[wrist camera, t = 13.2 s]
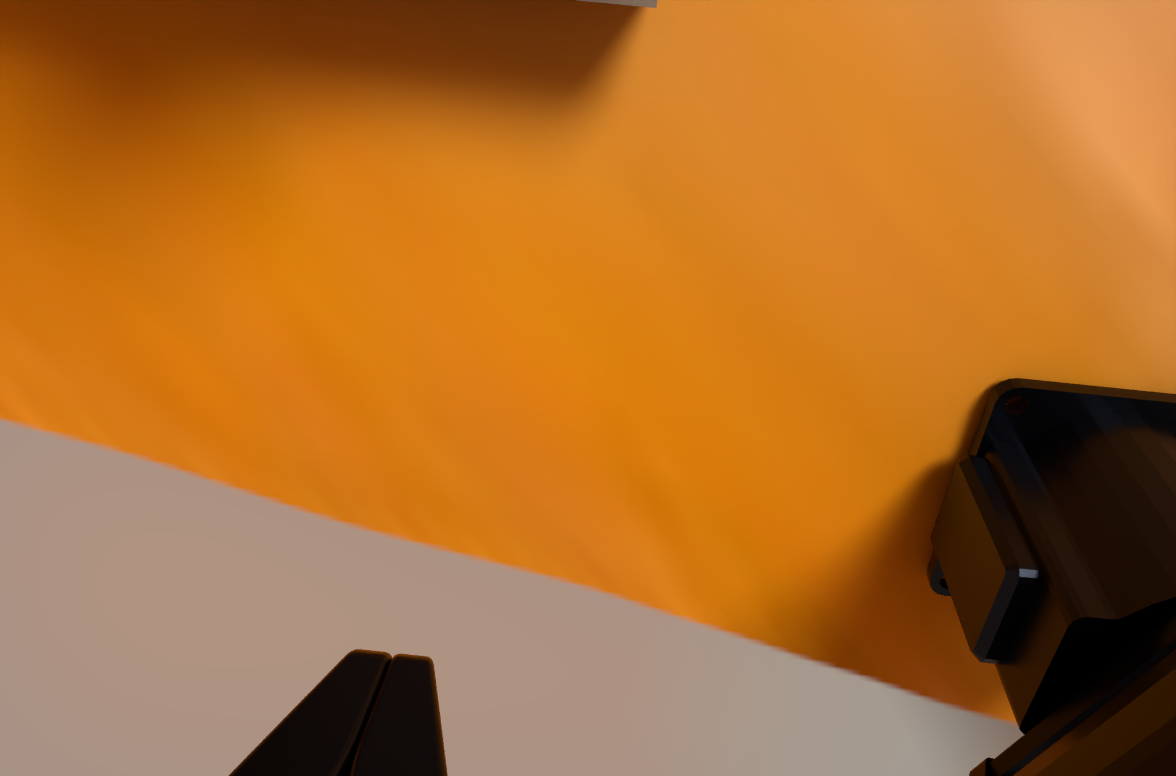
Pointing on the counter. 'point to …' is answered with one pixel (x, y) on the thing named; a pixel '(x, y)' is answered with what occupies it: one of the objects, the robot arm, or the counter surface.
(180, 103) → the counter surface
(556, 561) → the counter surface
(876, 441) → the counter surface
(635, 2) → the socket board
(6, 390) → the counter surface
